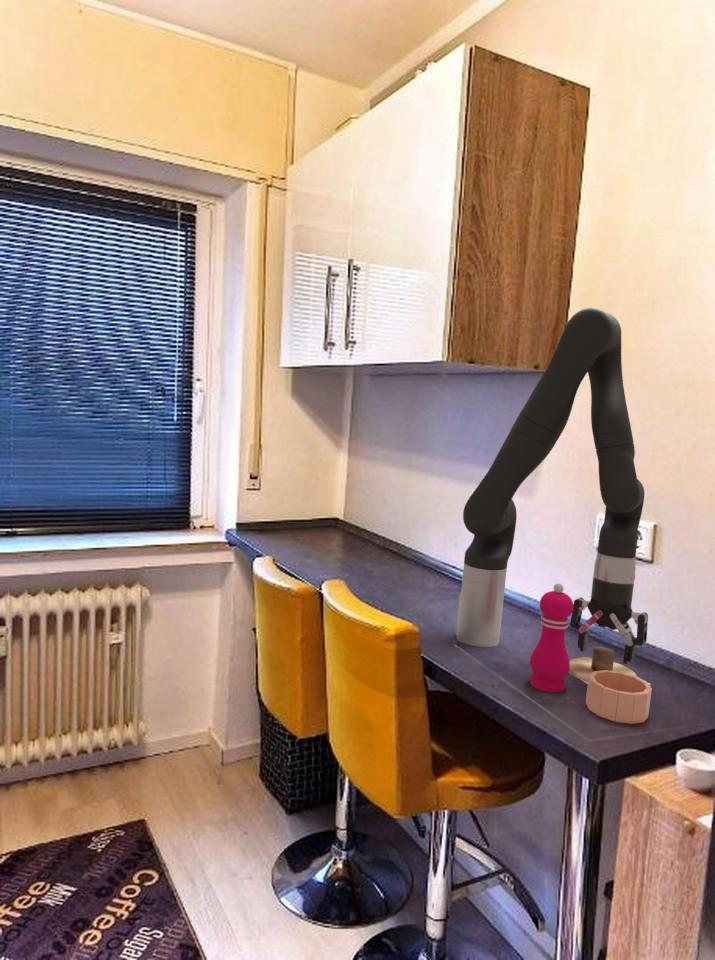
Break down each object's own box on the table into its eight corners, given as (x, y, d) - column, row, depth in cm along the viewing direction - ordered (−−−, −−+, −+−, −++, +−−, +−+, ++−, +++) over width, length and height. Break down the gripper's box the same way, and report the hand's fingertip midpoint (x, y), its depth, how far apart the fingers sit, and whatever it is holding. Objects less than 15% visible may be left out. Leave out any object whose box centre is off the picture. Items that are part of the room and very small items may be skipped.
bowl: (574, 702, 123) (577, 672, 122) (617, 697, 126) (621, 668, 126) (614, 728, 113) (618, 696, 113) (659, 722, 117) (664, 691, 117)
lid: (553, 663, 140) (556, 640, 139) (604, 659, 145) (606, 637, 144) (597, 690, 128) (600, 665, 127) (651, 684, 133) (654, 660, 132)
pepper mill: (573, 688, 129) (585, 585, 126) (556, 699, 123) (569, 591, 121) (538, 676, 133) (549, 576, 131) (520, 685, 128) (531, 582, 126)
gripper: (571, 572, 135) (562, 651, 137) (646, 588, 126) (635, 672, 128) (584, 567, 141) (576, 642, 143) (657, 581, 132) (647, 662, 134)
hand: (604, 656), depth 135 cm, fingers open, 8 cm apart
